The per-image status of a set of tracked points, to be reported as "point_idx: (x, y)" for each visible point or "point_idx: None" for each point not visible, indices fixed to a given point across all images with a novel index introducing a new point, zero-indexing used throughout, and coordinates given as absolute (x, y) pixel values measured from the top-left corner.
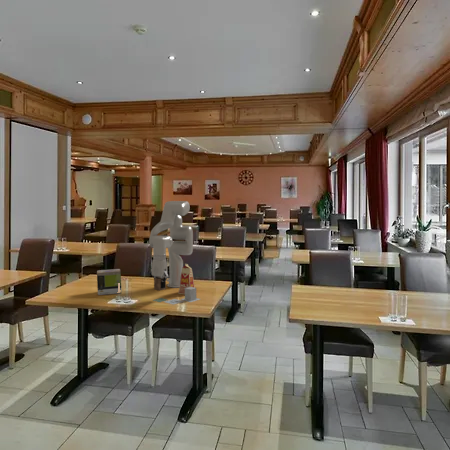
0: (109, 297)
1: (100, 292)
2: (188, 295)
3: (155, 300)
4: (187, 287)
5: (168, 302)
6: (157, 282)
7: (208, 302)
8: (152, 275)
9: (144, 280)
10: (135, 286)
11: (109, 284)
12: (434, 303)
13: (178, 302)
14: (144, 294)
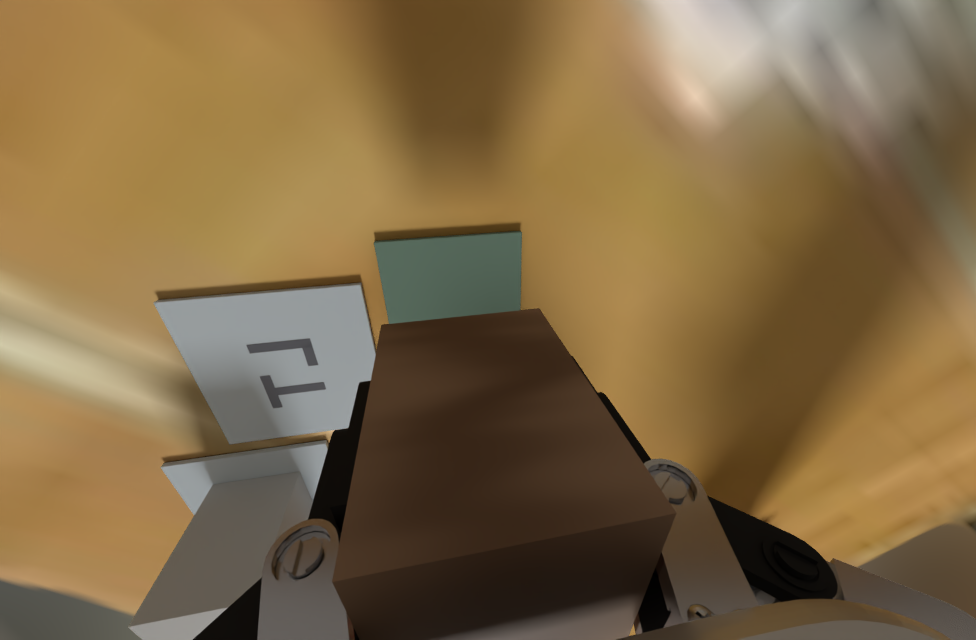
0: None
1: None
2: (217, 528)
3: (481, 253)
4: None
5: (290, 311)
6: (449, 431)
7: (85, 558)
8: (876, 582)
9: (944, 489)
10: (953, 389)
11: None
12: None
13: (218, 385)
14: (759, 315)
